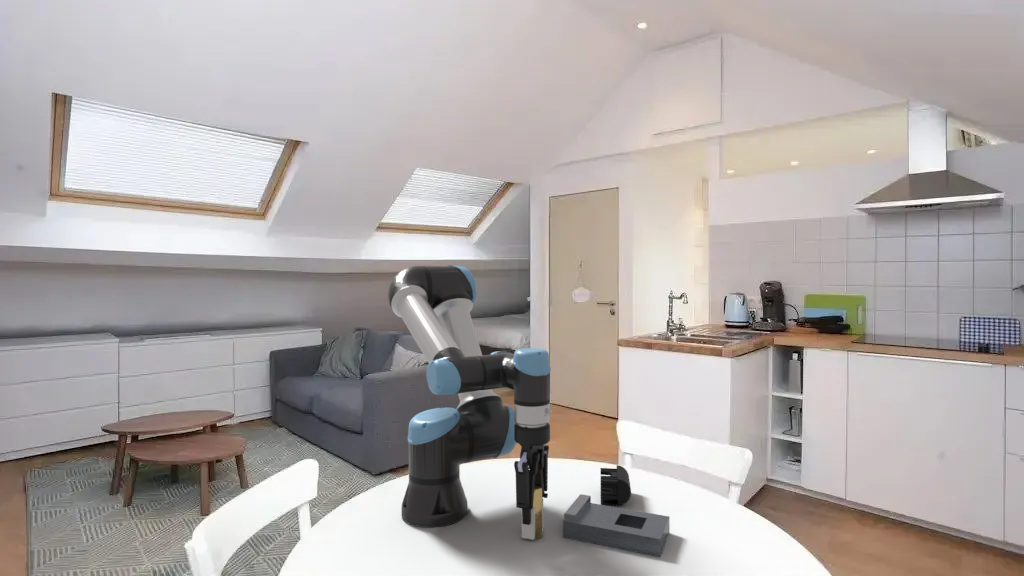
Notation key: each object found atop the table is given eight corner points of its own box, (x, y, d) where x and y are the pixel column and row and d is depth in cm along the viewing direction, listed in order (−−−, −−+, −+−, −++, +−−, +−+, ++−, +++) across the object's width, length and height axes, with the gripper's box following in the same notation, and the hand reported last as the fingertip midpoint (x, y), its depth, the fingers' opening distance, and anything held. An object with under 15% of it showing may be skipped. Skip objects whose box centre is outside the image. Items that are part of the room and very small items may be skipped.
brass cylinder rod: (520, 538, 116) (519, 490, 115) (527, 529, 119) (527, 484, 119) (538, 541, 114) (537, 493, 114) (545, 533, 118) (544, 486, 117)
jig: (563, 537, 116) (562, 513, 116) (579, 516, 126) (579, 493, 126) (660, 557, 107) (660, 531, 107) (669, 532, 117) (669, 509, 117)
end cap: (631, 508, 130) (631, 480, 130) (600, 506, 131) (600, 478, 131) (628, 491, 140) (628, 465, 140) (600, 490, 141) (600, 464, 141)
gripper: (533, 435, 107) (533, 555, 107) (562, 415, 122) (563, 519, 123) (498, 431, 110) (498, 547, 110) (531, 411, 125) (531, 513, 126)
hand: (532, 532), depth 117 cm, fingers closed on brass cylinder rod, 4 cm apart
